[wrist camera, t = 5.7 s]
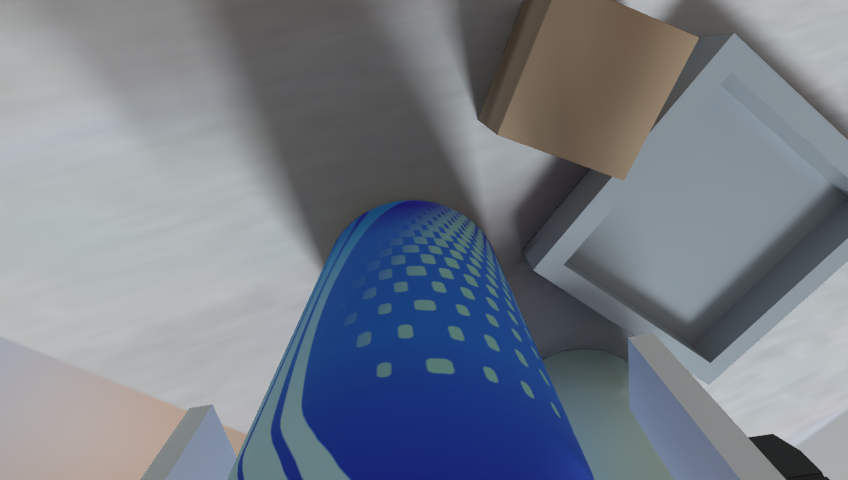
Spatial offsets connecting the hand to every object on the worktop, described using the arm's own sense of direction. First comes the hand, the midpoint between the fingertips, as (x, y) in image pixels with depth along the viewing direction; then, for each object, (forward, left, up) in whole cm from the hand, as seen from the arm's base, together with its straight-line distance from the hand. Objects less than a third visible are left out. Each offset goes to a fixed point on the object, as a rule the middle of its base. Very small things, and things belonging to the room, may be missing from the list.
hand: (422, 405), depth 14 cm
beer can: (0, 0, -10) cm, 10 cm away
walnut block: (0, +11, -9) cm, 14 cm away
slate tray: (+10, +10, -9) cm, 17 cm away
